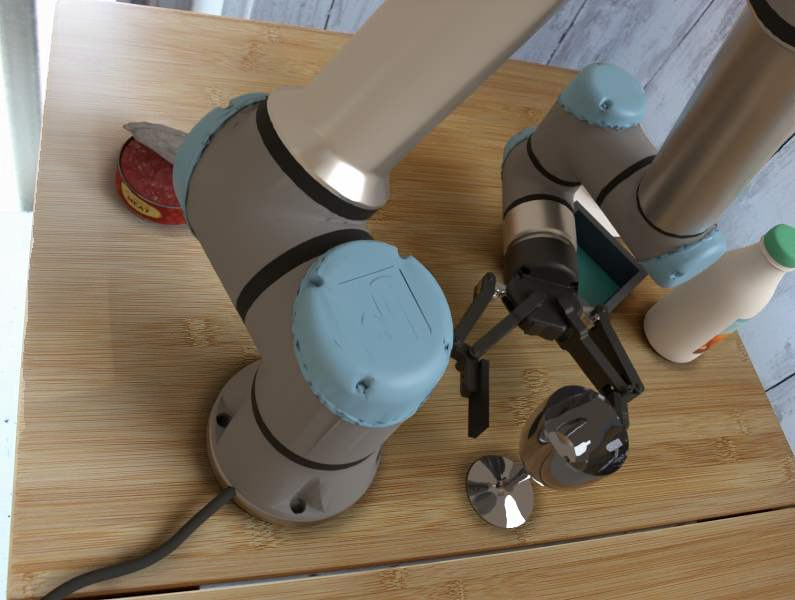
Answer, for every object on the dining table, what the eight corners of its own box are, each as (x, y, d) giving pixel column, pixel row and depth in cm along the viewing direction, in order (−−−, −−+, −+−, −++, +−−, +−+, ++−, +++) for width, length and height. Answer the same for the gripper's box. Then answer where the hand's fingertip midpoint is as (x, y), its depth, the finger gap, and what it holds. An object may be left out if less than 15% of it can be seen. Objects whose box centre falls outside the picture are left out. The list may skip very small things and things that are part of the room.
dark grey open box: (575, 343, 93) (599, 322, 89) (501, 265, 95) (521, 242, 91) (626, 293, 100) (649, 272, 97) (556, 222, 102) (576, 199, 98)
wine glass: (537, 462, 82) (625, 398, 71) (537, 540, 78) (632, 486, 66) (464, 442, 80) (543, 374, 69) (460, 522, 76) (544, 463, 64)
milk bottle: (656, 367, 96) (784, 273, 80) (631, 309, 99) (749, 208, 84) (706, 363, 99) (837, 273, 84) (680, 306, 103) (801, 210, 87)
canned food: (109, 196, 85) (95, 102, 80) (205, 180, 89) (198, 90, 84) (137, 248, 77) (124, 148, 72) (241, 228, 81) (236, 132, 76)
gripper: (623, 303, 92) (643, 487, 80) (413, 244, 85) (401, 434, 73) (665, 267, 86) (693, 460, 74) (442, 200, 79) (434, 400, 67)
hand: (548, 448), depth 74 cm, fingers open, 13 cm apart
